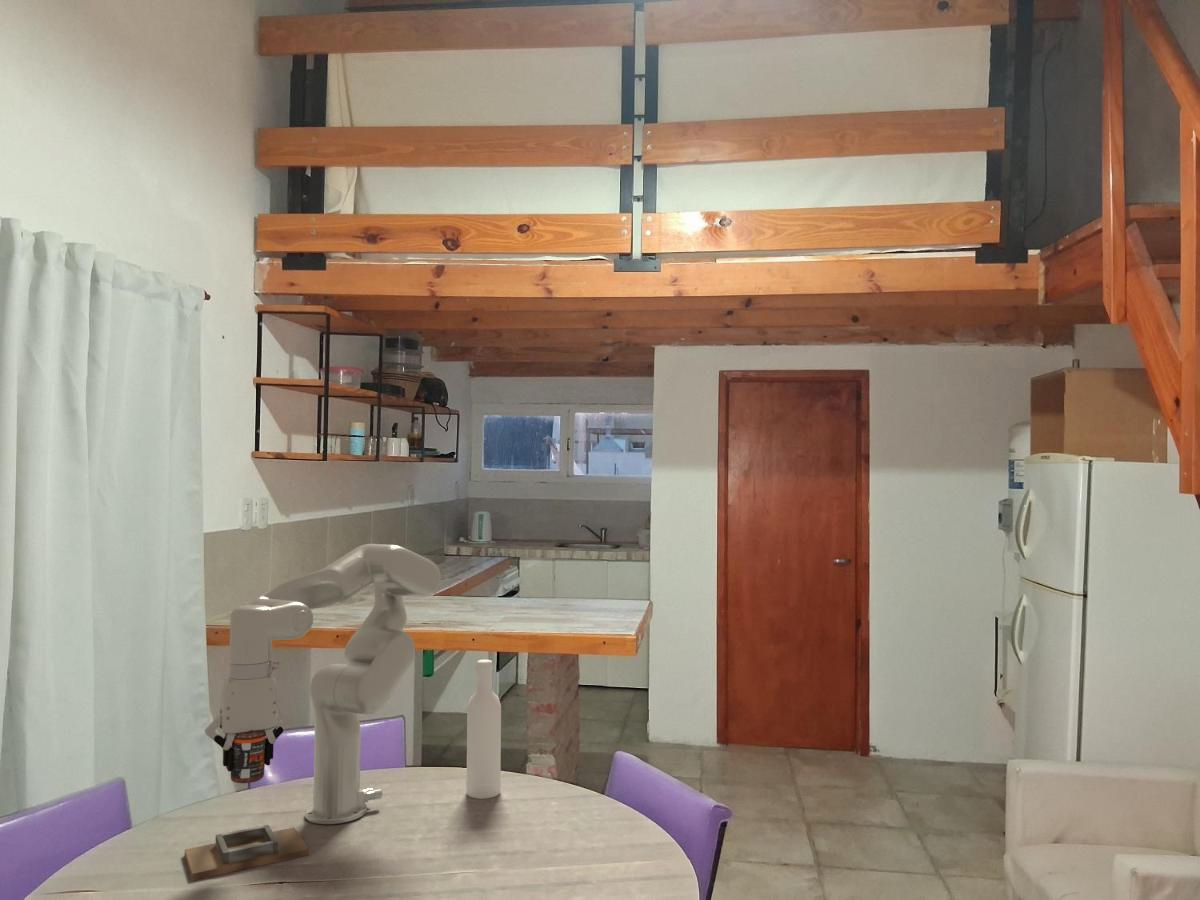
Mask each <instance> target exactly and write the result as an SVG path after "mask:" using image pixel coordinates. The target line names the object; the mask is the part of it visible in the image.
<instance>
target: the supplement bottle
mask: <svg viewBox="0 0 1200 900" xmlns="http://www.w3.org/2000/svg"><path fill="white" fill-rule="evenodd" d="M265 740H266V733H265V731H264V730H262V731H259V730H256V731H253V730H250V731H248V732H244V733H240V734H236V735H235V737H234V740H233V742H232V744H231V746H232V747H231V748H232V749H233V770H232V771H230V780H231V781H232V782H234V783H236V784H250V783H251V784H252V783H256V782H259V781H260V780H262V779H263V778H264V776H265V767H266V766H265V765H266V764H265Z"/></svg>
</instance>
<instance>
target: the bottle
mask: <svg viewBox="0 0 1200 900" xmlns="http://www.w3.org/2000/svg"><path fill="white" fill-rule="evenodd" d="M475 669H476V691H475V692H474V694H473V695H472V696H470V697H469V699H468V700H469V701H468V702H467V708H466V713H467V714H466V721H467V722H466V726H467V727H466V780H465V781H466V782H465V787H466V795H467V796H468V797H470V798H472V799H475V800H476V799H477V800H485V799H492V798H495V797H497V796H499V795H500V794H501V787H502V776H501V774H502V773H501V759H502V758H501V755H502V754H501V753H502V750H501V749H502V747H501V746H502V743H501V742H502V741H501V738H502V736H501V735H502V704H501V702H500V698H499V696H498V695H497V694H496V693H495V692H494V691H493V669H494V665H493V661H492V660H490V659H479V660H477V661H476V667H475Z"/></svg>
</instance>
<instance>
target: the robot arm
mask: <svg viewBox="0 0 1200 900" xmlns="http://www.w3.org/2000/svg"><path fill="white" fill-rule="evenodd" d="M441 580H442V575H441V571H440V569H439V567H438V566H437V564H436V563H435V562H434V561H432V560H430V559H428V558H426V557H424V556H422V555H420V554H418V553H416V552H414V551H412V550H410V549H407V548H405V547H403V546H400V545H397V544H396V545H395V544H382V543H381V544H379V543H366V544H362V545H359V546H357V547H356V548H354V549H352V550H351V551H349V552H347V553H345V554H344V555H343V556H340V558H338V559H337V560H334V561H333V562H332V563H330V564H329V565H326V566H325V567H323V568H321V569H320V570H316V571H314V572H311V573H307V574H305V575H303V576H299V577H296V578H293V579H291V580H288V581H285V582H282V583H279V584H278V585H276V586H274V587H272V588H270V589H268V590H266V591H265V592H263V593H262V594H260V595H259V596H258V597H256V598H255V599H253V600H252V601H251V602H250V603H249V604H246V605H241V606H237V607H235V608H233V609H232V611H231V612H230V619H229V621H230V622H229V623H230V625H229V628H230V629H229V656H228V657H229V658H228V659H229V661H228V662H229V665H228V666H229V668H228V677H227V678H225V679H223V684H222V687H221V694H220V695H221V696H220V705H219V713H218V716H217V717H216V718H215V719H213V721H212V722H211V723H210V724H209V725H208V726H207V727H206V728H204V733H205V735H206V736H207V737H208V738H210V739H211V740H213V742H215V743H216V744H217V745H218V746H220V747H221V748H222V766H223V767H225V768H226V769H227V772H231V771H232V770H233V749H232V742H233V740H234V737H235V735H236V734H240V733H244V732H248V731H250V730H253V731H256V730H259V731H262V730H264V731H265V733H266V737H265V738H266V740H265V765H266V766H270V765H271V760H273V759H274V744H275V742H276V741H277V740H278V738H279V737H281V734H283V733H284V731H285V730H286V729H287V728H288V727H289V726H290V725H291V724H292V721H293V720H292V718H290V717H289V716H288V715H287V714H285V713H284V711H282V710H281V709H280V708H279V698H278V688H277V681H276V677H275V674H273V672H274V671H276V670H279V669H280V661H273V659H272V653H273V641H284V640H285V641H287V640H290V641H291V640H297V639H299V638H302V637H304V636H305V635H306V634H307V633H309V631H310V629H311V628H312V626H313V623H314V614H313V612H312V610H318V609H325V608H329V607H333V606H337V605H341V604H343V603H345V602H346V601H348V600H349V599H351V598H352V597H353V596H355V595H356V594H357V593H359V592H360V591H362V590H363V589H365V588H367V587H369V585H371V584H372V583H373V588H374V589H373V590H374V603H373V607H372V609H371V611H369V612H370V613H369V614H368V615H367V617H366V618H365V619H364V621H363V622H362V623H361V624H360V626H359V627H358V628H357V630H356V631H355V632H354V634H353V635H352V636H351V638H350V639H349V640H348V642H347V644H346V646H345V649H344V651H343V654H344V659H345V662H346V663H347V664H344V663H331V664H326V665H324V666H322V667H320V668H319V669H318V670H317V671H316V672H315V673H314V675H313V677H312V679H311V682H310V687H309V689H310V690H309V692H310V700H311V706H312V711H313V719H314V723H313V724H314V741H313V744H314V745H313V746H314V748H313V750H314V751H313V794H312V795H313V799H312V800H313V802H312V803H313V804H311V805H310V806H309V807H307V809H306V810H305V814H304V816H305V819H306V820H307V821H308V822H311V823H312V824H319V825H337V824H344V823H349V822H352V821H355V820H358V819H359V818H361V817H363V816H364V815H365V814H366V812H368V811H367V810H368V804H367V803H368V801H372V800H373V801H376V800H381V799H382V798H383V791H382V789H381V788H379V789H374V790H373V788H372V787H371V788H366V789H362V788H361V739H362V733H361V732H362V730H361V724H360V722H361V721H360V719H359V715H367V716H368V715H374V714H376V713H377V712H380V711H381V709H383V708H384V707H385V705H386V704H387V703H388V701H389V700H390V698H391V697H392V696H393V694H394V693H395V691H396V690H397V688H398V687H399V686H400V684H401V683H402V681H403V679H404V678H405V677H406V675H407V674H408V672H409V670H410V669H411V667H412V665H413V662H414V659H415V655H416V653H415V652H416V646H415V642H414V641H415V640H414V639H413V638H412V636H411V635H410V634H409V633H407V632H406V631H403V630H404V628H405V627H406V623H407V618H408V617H407V616H408V615H407V611H406V609H405V608H406V607H405V602H404V598H403V597H417V598H427V597H430V596H433V594H435V593H436V592H437V591H438V590H439V588H440V585H441ZM358 714H359V715H358ZM279 720H280V722H279ZM278 722H279V723H278ZM218 728H220V729H221V730H222V733H223V734H224V736H221V735H220V734H219V733H217V732H216V730H217V729H218Z"/></svg>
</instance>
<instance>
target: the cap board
mask: <svg viewBox="0 0 1200 900" xmlns="http://www.w3.org/2000/svg"><path fill="white" fill-rule="evenodd" d="M307 856H309V847H308V846H307V845H306V843H305V842H304V840H303V838H302V837H301V835H300V834H299V832H298V831H297V829H296V827H288V828H284V829H279V830H274V831H273V830H272V828H271V827H270V825H269V824H264V825H261V826H254V827H250V828H249V827H248V828H245V829H239V830H234V831H230V832H224V833H219V834H215V843H210V844H205V845H200V846H195V847H191V848H186V849H184V858H185V862H186V865H187V869H188V871H189V875H190V878H191V881H198V880H201V879H205V878H206V879H207V878H211V877H215V876H219V875H224V874H229V873H233V872H238V871H242V870H246V869H252V868H255V867H260V866H265V865H270V864H275V863H279V862H283V861H289V860H292V859H297V858H301V857H307Z"/></svg>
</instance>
